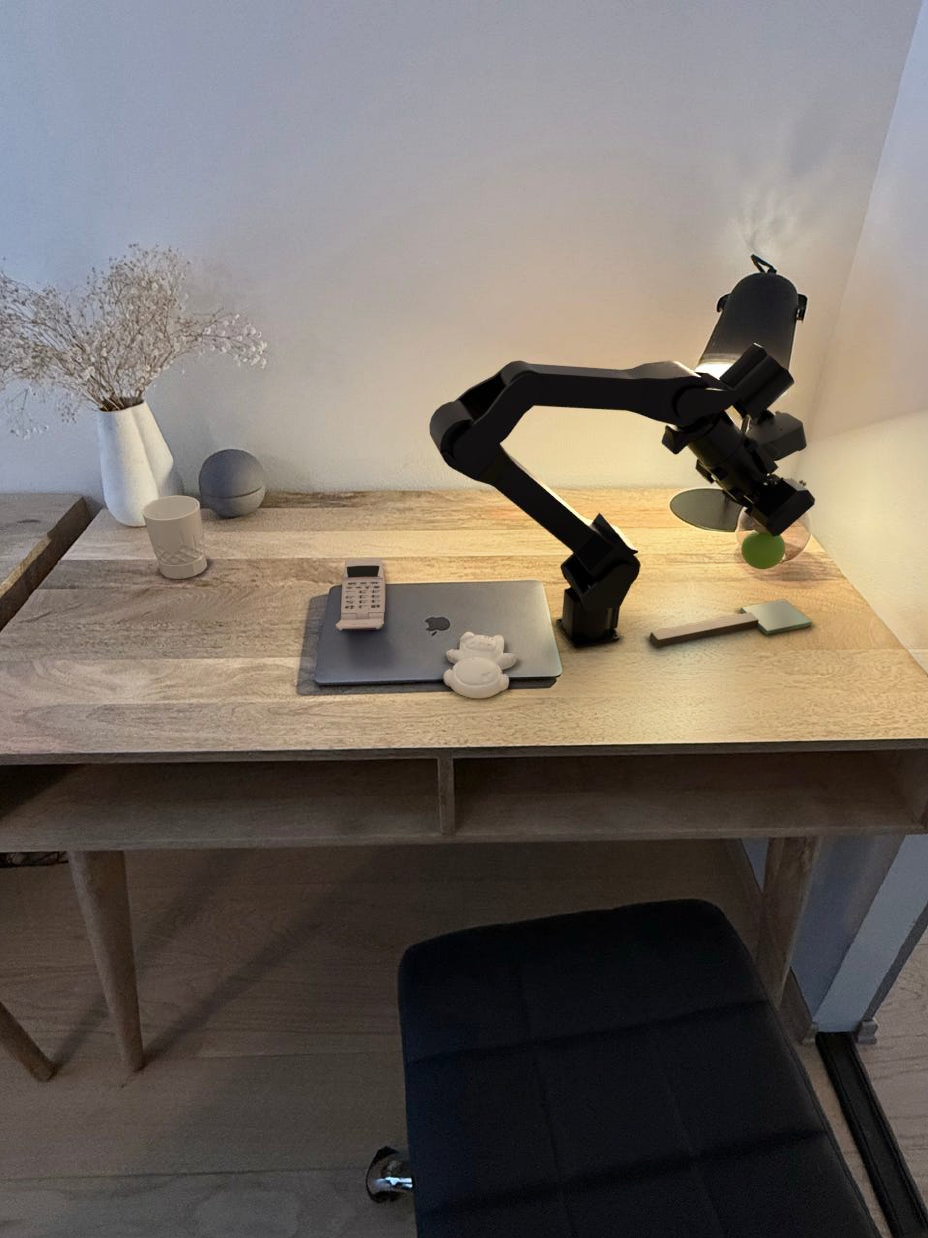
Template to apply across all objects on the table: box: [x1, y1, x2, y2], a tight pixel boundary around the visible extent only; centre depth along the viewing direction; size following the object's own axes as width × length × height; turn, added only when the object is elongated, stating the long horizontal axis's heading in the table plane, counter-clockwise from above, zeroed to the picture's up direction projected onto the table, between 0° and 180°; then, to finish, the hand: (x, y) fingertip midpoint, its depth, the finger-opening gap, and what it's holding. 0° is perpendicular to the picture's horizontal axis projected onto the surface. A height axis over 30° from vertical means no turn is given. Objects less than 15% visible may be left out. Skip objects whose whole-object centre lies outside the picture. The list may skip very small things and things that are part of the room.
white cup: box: [141, 495, 208, 580], centre depth 120 cm, size 8×8×10 cm
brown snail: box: [740, 479, 807, 570], centre depth 106 cm, size 5×6×12 cm
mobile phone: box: [335, 557, 386, 631], centre depth 111 cm, size 6×6×25 cm
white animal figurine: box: [443, 631, 518, 699], centre depth 101 cm, size 9×12×3 cm
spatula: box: [649, 598, 813, 648], centre depth 109 cm, size 22×6×1 cm, turn 108°
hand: (782, 520), depth 106 cm, fingers closed on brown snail
